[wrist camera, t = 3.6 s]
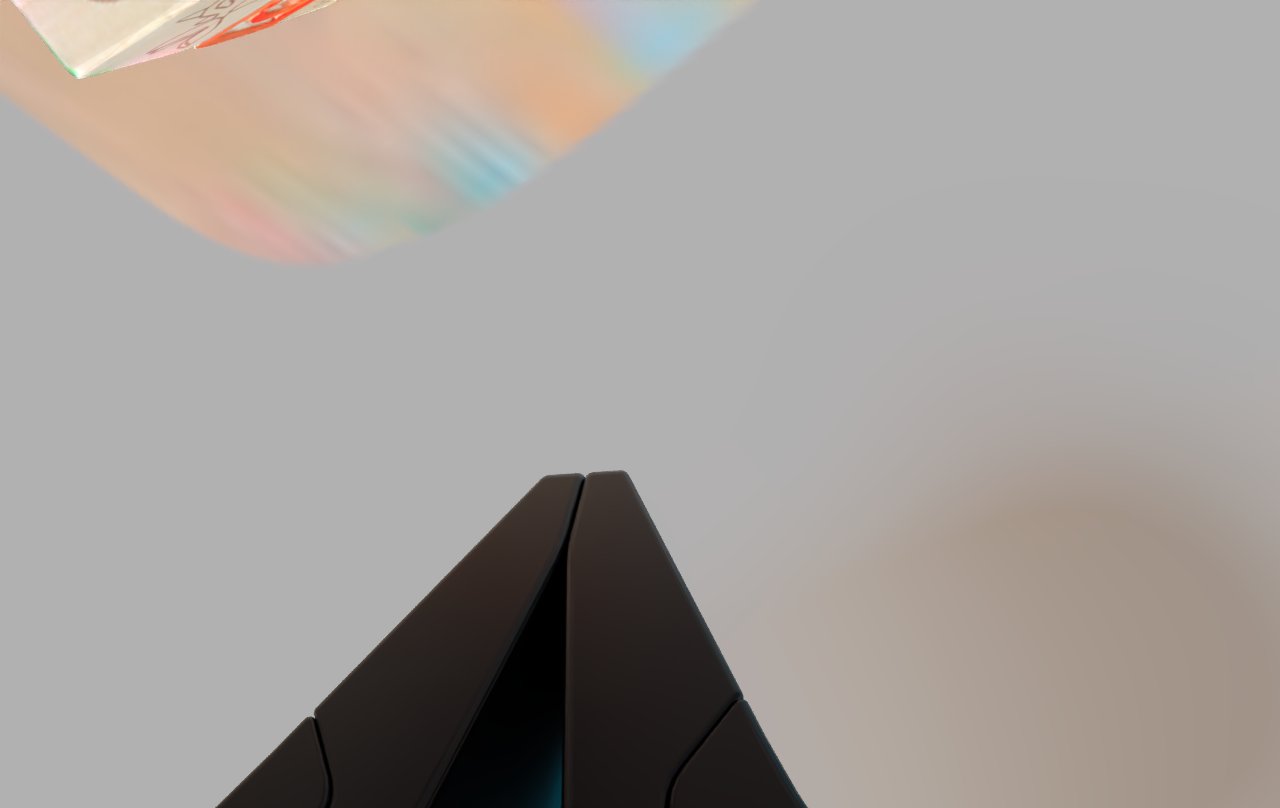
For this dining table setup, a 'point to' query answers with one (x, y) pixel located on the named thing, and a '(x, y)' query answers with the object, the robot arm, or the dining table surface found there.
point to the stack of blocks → (147, 27)
